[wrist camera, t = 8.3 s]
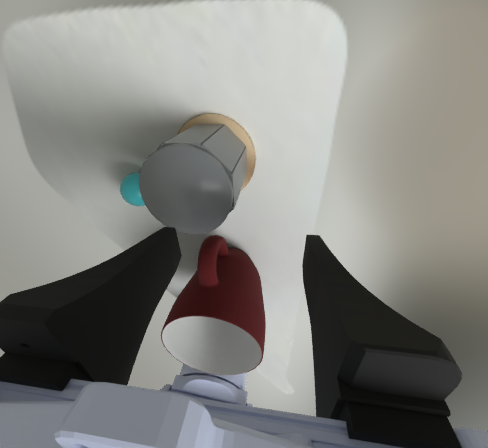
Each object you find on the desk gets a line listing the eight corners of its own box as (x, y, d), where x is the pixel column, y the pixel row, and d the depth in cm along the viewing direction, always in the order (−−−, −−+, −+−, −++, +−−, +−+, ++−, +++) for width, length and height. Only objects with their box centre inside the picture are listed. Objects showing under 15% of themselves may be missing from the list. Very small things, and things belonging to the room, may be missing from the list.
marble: (164, 197, 23) (150, 212, 20) (136, 196, 23) (119, 211, 21) (157, 168, 21) (141, 180, 19) (127, 167, 22) (107, 179, 19)
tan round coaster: (255, 196, 21) (255, 198, 21) (183, 194, 22) (181, 196, 22) (255, 113, 18) (254, 113, 17) (168, 114, 18) (166, 115, 18)
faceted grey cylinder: (247, 191, 21) (233, 236, 15) (187, 189, 21) (151, 231, 16) (245, 123, 18) (228, 147, 12) (176, 124, 18) (126, 146, 13)
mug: (178, 218, 24) (123, 295, 16) (253, 204, 22) (236, 284, 14) (213, 289, 29) (185, 375, 21) (276, 283, 27) (273, 376, 19)
